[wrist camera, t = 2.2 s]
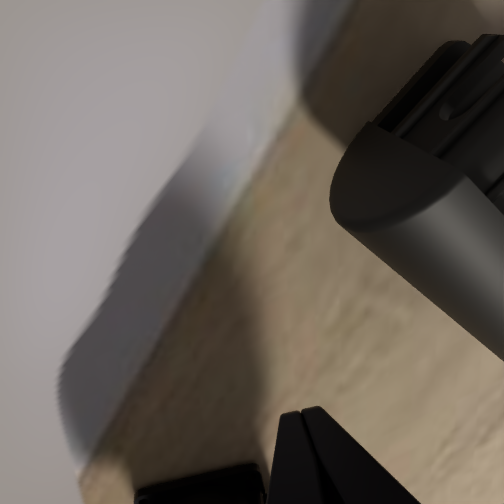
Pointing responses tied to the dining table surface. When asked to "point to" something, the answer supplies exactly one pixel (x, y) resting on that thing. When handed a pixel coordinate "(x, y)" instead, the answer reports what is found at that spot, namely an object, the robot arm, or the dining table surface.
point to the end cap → (437, 185)
